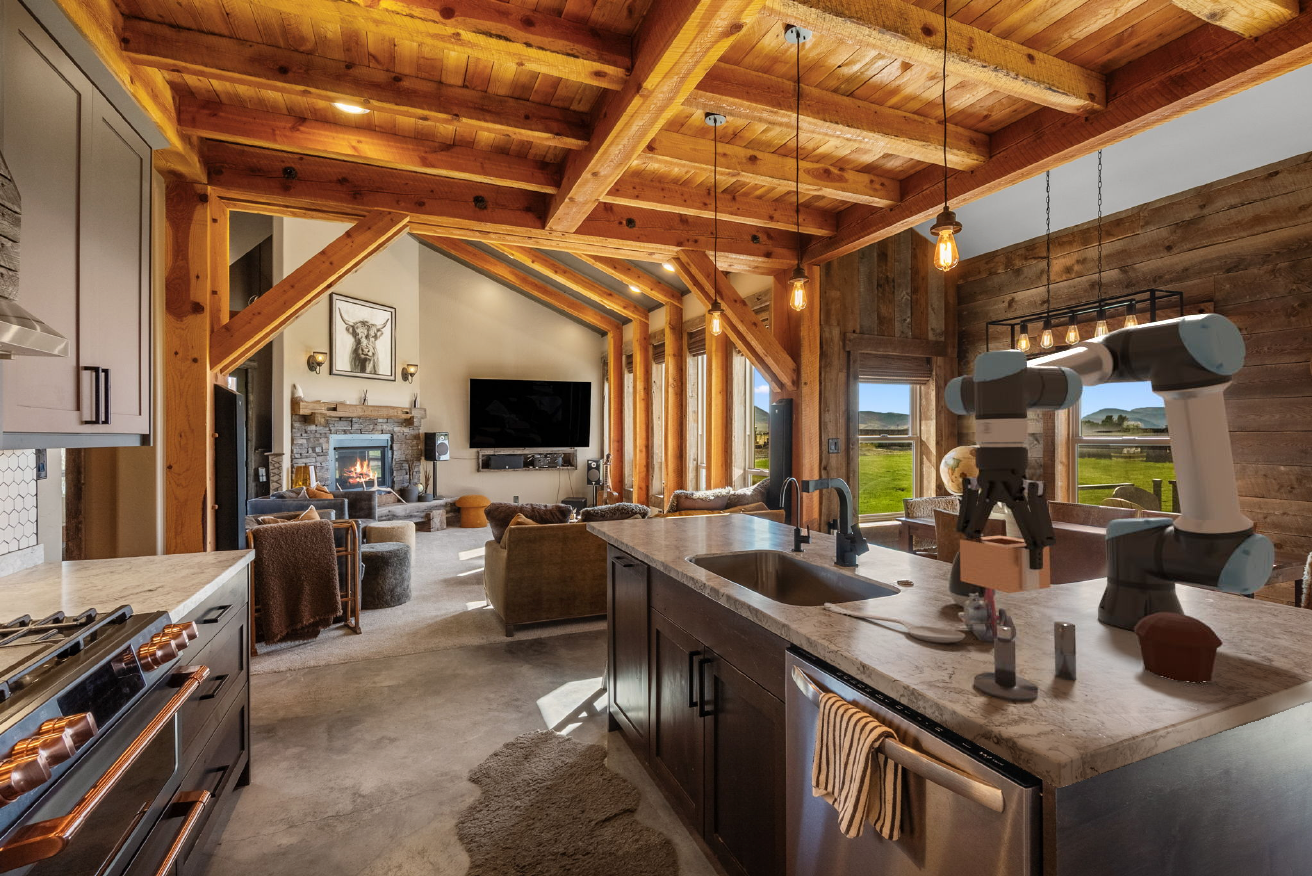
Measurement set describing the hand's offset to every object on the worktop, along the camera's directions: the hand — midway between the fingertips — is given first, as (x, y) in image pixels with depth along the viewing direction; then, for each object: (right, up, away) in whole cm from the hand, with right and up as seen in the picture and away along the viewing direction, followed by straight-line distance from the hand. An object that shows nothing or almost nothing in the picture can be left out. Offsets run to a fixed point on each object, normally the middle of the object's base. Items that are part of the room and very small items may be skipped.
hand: (1003, 582), depth 97 cm
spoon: (-6, -18, +34) cm, 39 cm away
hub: (0, -17, 0) cm, 17 cm away
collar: (0, 0, 0) cm, 0 cm away
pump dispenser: (+20, -18, +48) cm, 55 cm away
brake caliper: (+12, -18, +26) cm, 34 cm away
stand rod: (+13, -17, +5) cm, 22 cm away
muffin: (+33, -17, +5) cm, 38 cm away
